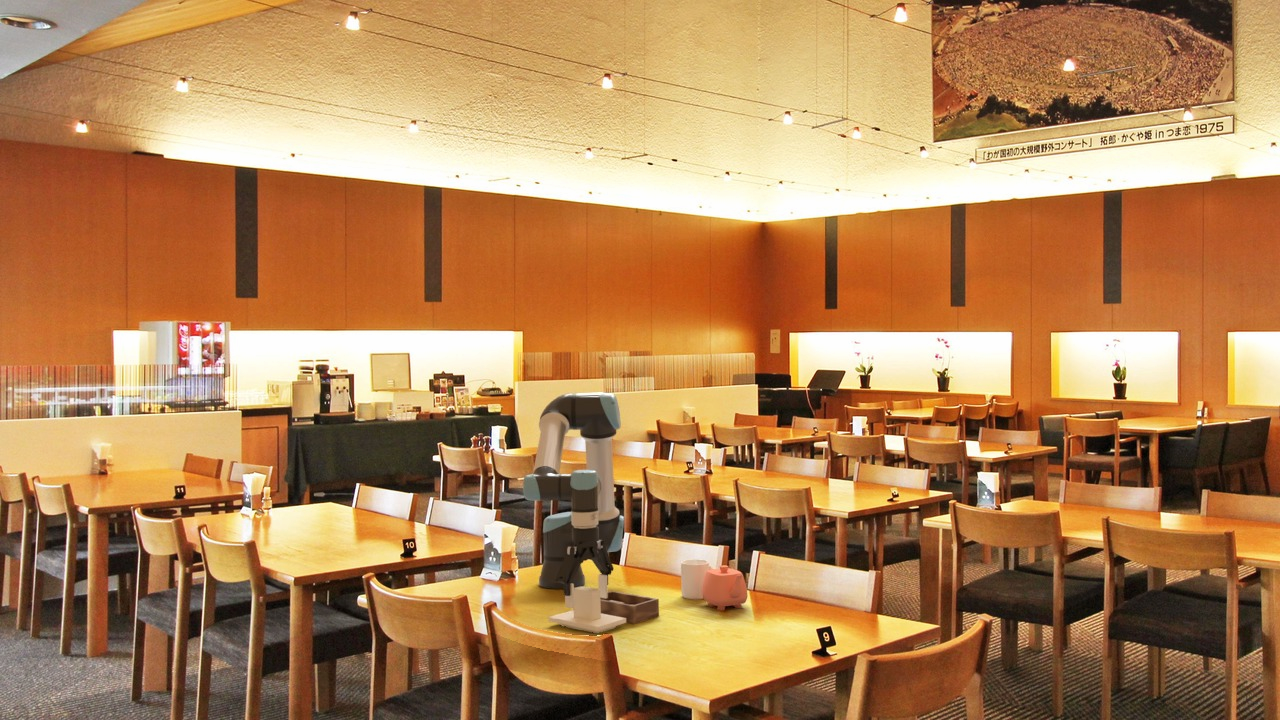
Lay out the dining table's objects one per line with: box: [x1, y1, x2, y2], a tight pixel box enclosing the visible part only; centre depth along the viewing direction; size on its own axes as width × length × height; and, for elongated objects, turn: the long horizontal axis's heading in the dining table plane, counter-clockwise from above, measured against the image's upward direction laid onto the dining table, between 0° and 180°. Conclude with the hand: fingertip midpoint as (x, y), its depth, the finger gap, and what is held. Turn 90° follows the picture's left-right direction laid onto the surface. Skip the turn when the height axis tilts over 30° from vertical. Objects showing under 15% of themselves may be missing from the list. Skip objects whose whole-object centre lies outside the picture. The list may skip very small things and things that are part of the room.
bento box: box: [600, 590, 660, 625], centre depth 307 cm, size 18×11×5 cm, turn 50°
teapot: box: [702, 564, 748, 612], centre depth 316 cm, size 20×12×12 cm, turn 25°
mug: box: [680, 558, 714, 600], centre depth 331 cm, size 9×12×11 cm
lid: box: [548, 585, 627, 634], centre depth 296 cm, size 19×12×11 cm, turn 50°
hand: (586, 602), depth 296 cm, fingers open, 13 cm apart
